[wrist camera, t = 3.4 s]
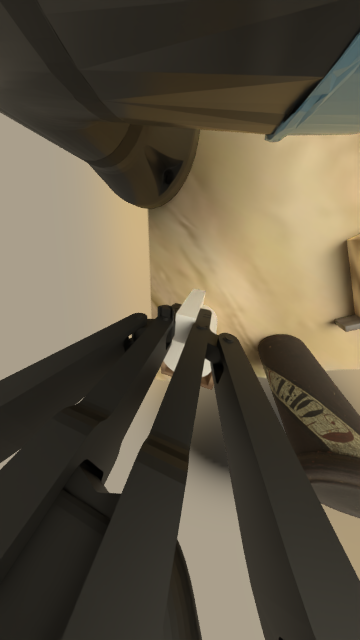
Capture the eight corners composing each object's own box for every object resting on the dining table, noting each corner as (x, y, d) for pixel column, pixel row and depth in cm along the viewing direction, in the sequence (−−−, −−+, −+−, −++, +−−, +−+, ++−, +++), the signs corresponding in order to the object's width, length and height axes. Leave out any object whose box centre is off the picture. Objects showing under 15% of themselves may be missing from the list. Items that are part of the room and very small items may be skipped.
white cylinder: (178, 327, 32) (158, 365, 22) (186, 298, 27) (165, 330, 17) (209, 339, 31) (203, 384, 21) (223, 311, 26) (222, 352, 16)
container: (274, 325, 25) (373, 489, 8) (320, 345, 24) (523, 562, 8) (247, 352, 30) (276, 488, 13) (284, 369, 29) (363, 533, 13)
